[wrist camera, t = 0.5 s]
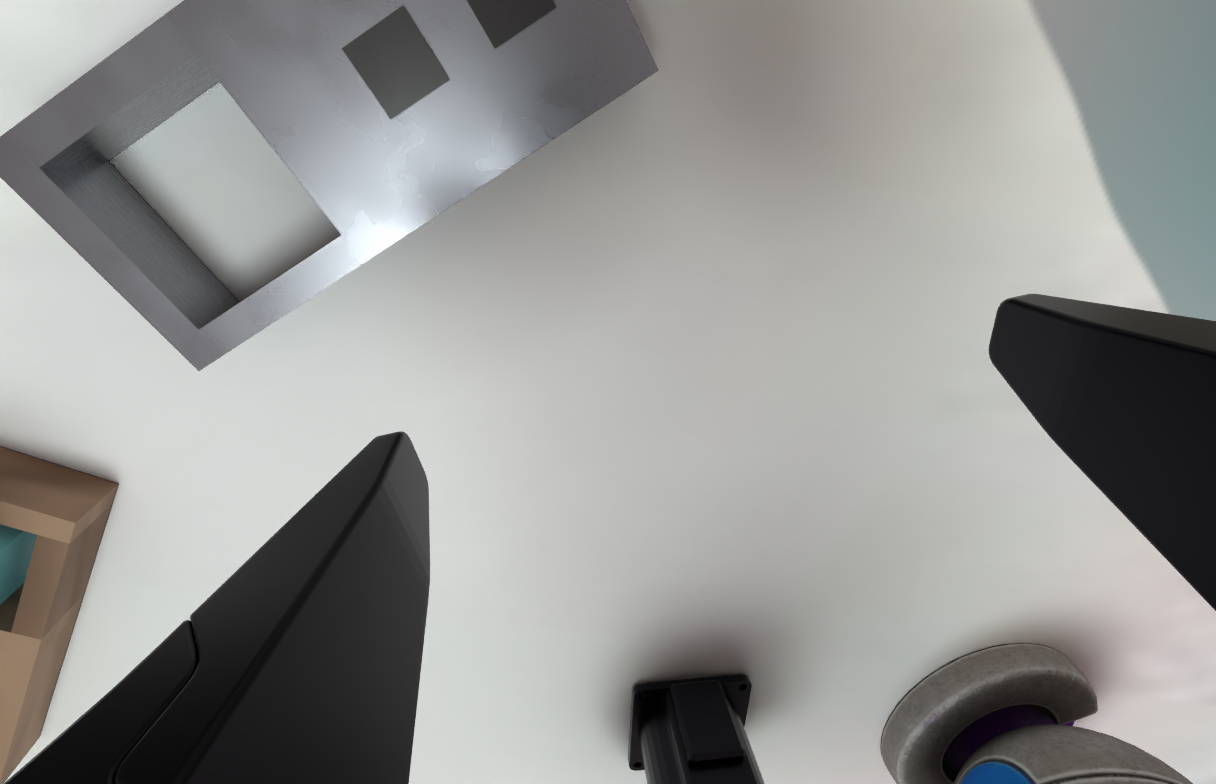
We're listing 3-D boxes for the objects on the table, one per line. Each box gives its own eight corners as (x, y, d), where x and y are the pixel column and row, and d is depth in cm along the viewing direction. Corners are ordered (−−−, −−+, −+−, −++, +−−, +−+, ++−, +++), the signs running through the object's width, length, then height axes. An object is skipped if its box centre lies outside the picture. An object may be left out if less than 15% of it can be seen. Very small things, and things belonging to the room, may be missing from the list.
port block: (639, 77, 20) (659, 70, 17) (239, 339, 22) (196, 372, 19) (512, -183, 17) (510, -245, 14) (56, 149, 19) (-29, 154, 16)
